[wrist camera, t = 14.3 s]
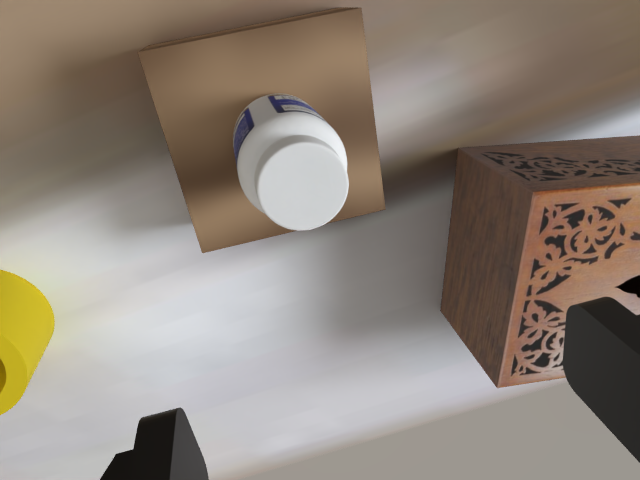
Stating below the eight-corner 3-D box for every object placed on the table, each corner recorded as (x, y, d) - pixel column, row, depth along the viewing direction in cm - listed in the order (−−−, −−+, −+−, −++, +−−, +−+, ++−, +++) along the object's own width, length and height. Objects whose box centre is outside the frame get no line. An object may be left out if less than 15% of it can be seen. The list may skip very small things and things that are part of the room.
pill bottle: (265, 197, 30) (282, 266, 22) (214, 125, 28) (213, 173, 20) (339, 150, 30) (384, 203, 22) (293, 73, 27) (325, 100, 19)
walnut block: (149, 45, 30) (137, 52, 25) (340, 7, 31) (361, 7, 26) (204, 222, 35) (202, 253, 31) (364, 184, 36) (385, 209, 32)
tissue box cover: (439, 309, 43) (497, 388, 34) (456, 146, 37) (533, 192, 28) (692, 277, 47) (802, 340, 38) (746, 127, 41) (893, 161, 32)
